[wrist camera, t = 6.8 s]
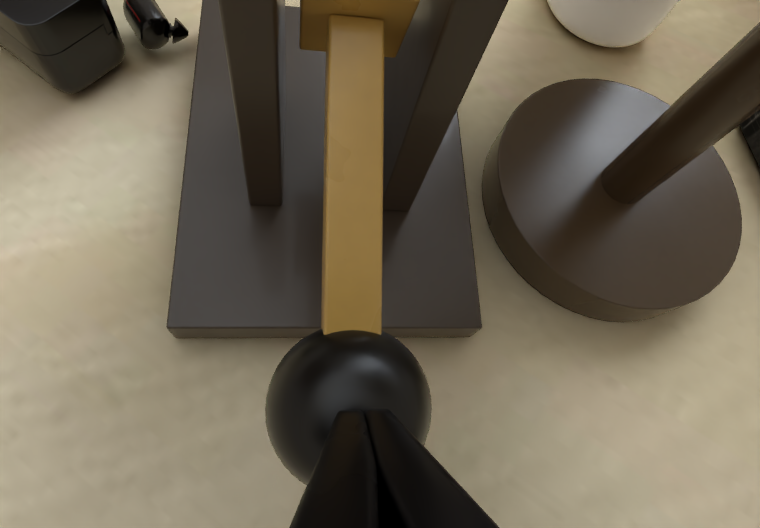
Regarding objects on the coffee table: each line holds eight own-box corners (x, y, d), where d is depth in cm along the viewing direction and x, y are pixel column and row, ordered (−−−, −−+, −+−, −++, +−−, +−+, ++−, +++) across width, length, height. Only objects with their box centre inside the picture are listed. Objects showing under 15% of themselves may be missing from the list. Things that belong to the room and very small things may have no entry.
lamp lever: (410, 460, 12) (452, 521, 9) (267, 466, 11) (257, 533, 8) (414, -45, 13) (454, -158, 9) (279, -61, 12) (275, -187, 9)
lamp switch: (470, 337, 17) (685, 184, 8) (174, 338, 15) (5, 149, 6) (439, 45, 21) (553, -275, 12) (207, 23, 19) (136, -362, 10)
